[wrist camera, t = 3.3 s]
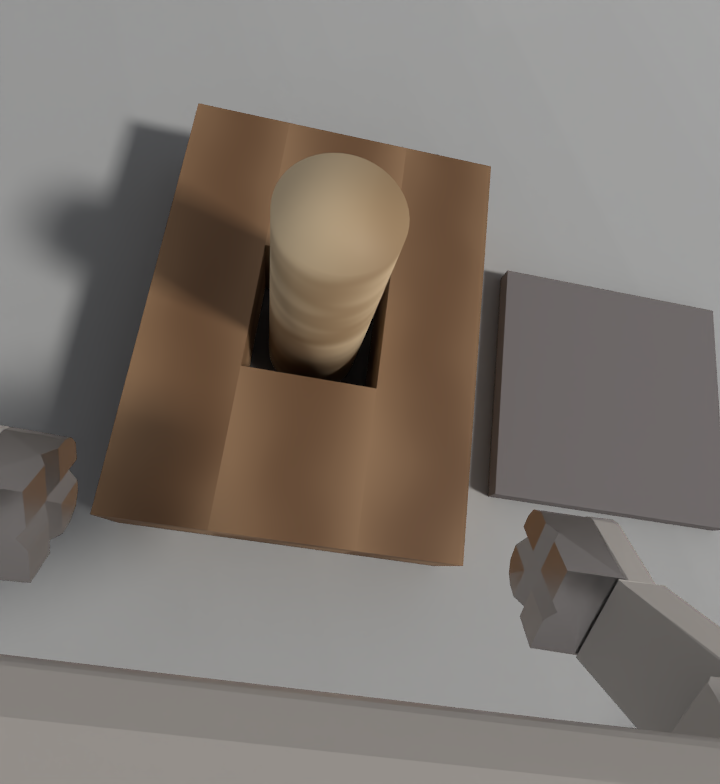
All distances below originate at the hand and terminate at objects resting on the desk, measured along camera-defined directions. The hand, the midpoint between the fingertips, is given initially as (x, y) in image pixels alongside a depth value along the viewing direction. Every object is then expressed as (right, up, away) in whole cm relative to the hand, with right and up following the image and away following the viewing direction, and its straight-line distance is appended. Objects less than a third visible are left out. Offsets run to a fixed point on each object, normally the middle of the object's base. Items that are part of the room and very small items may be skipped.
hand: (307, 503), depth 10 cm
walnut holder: (-1, +4, +14) cm, 14 cm away
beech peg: (-1, +4, +14) cm, 14 cm away
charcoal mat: (+12, +2, +15) cm, 19 cm away
